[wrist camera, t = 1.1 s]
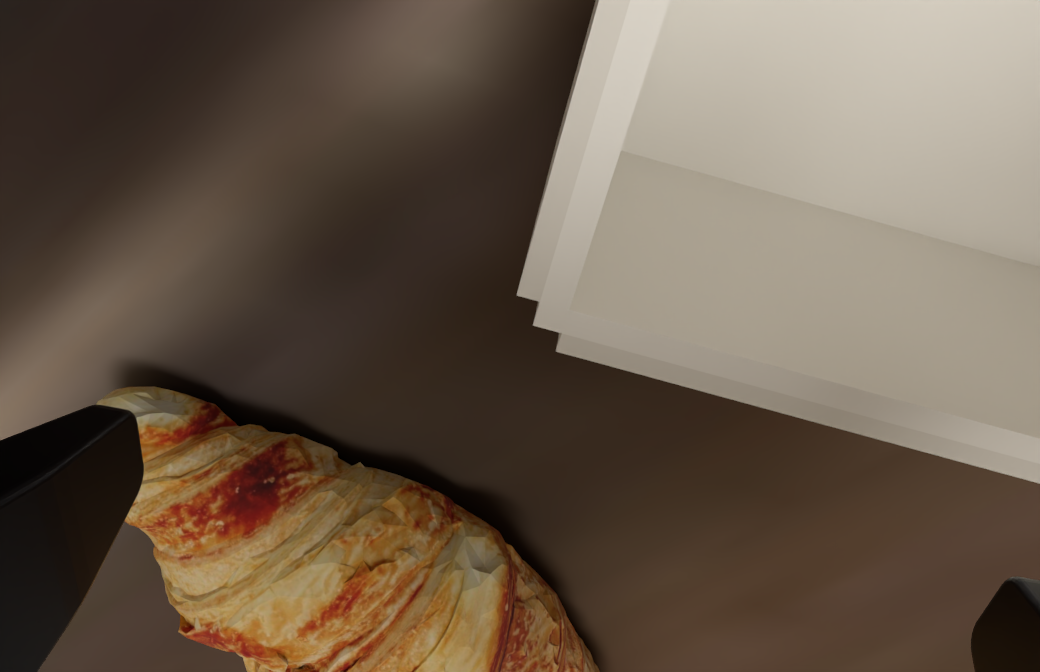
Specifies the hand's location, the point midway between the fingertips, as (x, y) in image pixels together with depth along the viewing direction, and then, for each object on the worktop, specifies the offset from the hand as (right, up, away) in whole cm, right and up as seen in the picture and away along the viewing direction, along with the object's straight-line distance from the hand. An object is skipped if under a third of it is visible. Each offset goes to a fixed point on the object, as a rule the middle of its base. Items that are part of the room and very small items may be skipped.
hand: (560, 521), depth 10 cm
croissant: (-4, -5, +21) cm, 22 cm away
